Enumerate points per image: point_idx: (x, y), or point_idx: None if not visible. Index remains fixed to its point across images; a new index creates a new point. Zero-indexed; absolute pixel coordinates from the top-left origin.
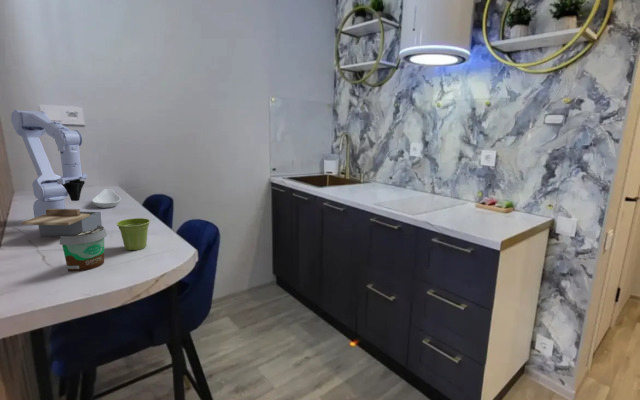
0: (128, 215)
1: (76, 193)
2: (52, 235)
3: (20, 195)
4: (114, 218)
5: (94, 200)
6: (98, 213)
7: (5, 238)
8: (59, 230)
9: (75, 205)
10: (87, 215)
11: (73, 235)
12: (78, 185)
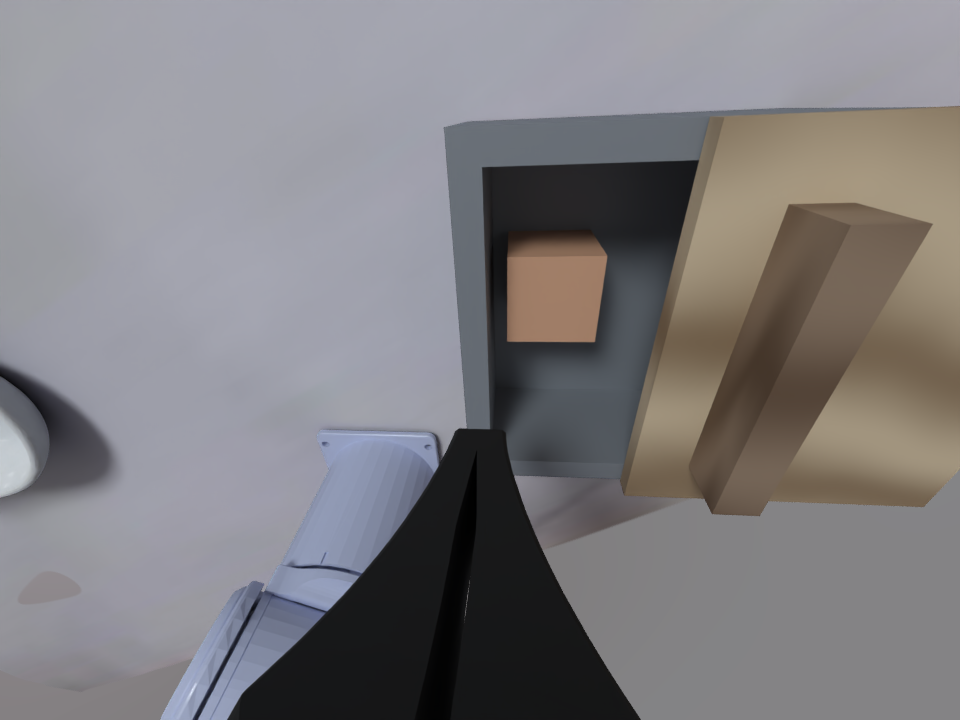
0: (34, 92)
1: (526, 519)
2: None
3: (123, 674)
4: (187, 174)
5: (2, 482)
6: (498, 124)
7: (691, 498)
8: None
9: (97, 526)
10: (784, 115)
11: None
12: (544, 694)
